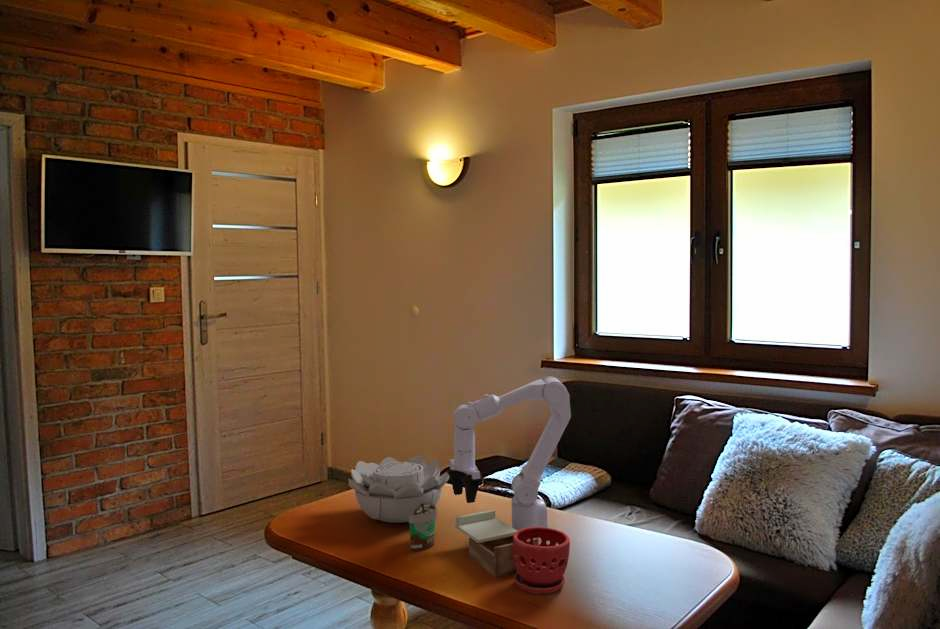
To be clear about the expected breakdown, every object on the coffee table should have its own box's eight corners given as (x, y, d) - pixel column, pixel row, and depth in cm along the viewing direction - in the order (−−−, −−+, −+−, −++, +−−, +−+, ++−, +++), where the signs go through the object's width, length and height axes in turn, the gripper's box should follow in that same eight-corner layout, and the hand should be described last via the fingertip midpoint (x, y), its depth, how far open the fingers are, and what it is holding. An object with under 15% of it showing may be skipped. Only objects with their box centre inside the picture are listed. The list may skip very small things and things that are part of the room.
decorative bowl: (393, 495, 241) (392, 449, 240) (467, 512, 223) (466, 463, 222) (323, 522, 216) (322, 472, 215) (401, 544, 199) (399, 489, 198)
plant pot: (529, 603, 163) (529, 550, 163) (503, 580, 176) (503, 530, 175) (580, 591, 169) (580, 540, 168) (551, 570, 181) (551, 522, 180)
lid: (494, 519, 201) (494, 509, 201) (518, 534, 190) (518, 523, 190) (455, 527, 196) (455, 516, 196) (478, 543, 185) (477, 532, 184)
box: (509, 548, 195) (509, 521, 194) (538, 567, 182) (538, 538, 182) (469, 557, 189) (468, 529, 189) (496, 577, 177) (495, 548, 176)
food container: (432, 554, 191) (431, 516, 191) (409, 553, 193) (408, 515, 192) (443, 537, 203) (442, 501, 203) (421, 535, 205) (421, 500, 204)
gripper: (439, 445, 207) (439, 492, 208) (463, 457, 194) (463, 508, 195) (462, 442, 210) (462, 489, 211) (487, 454, 198) (486, 504, 199)
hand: (464, 498), depth 204 cm, fingers open, 7 cm apart
